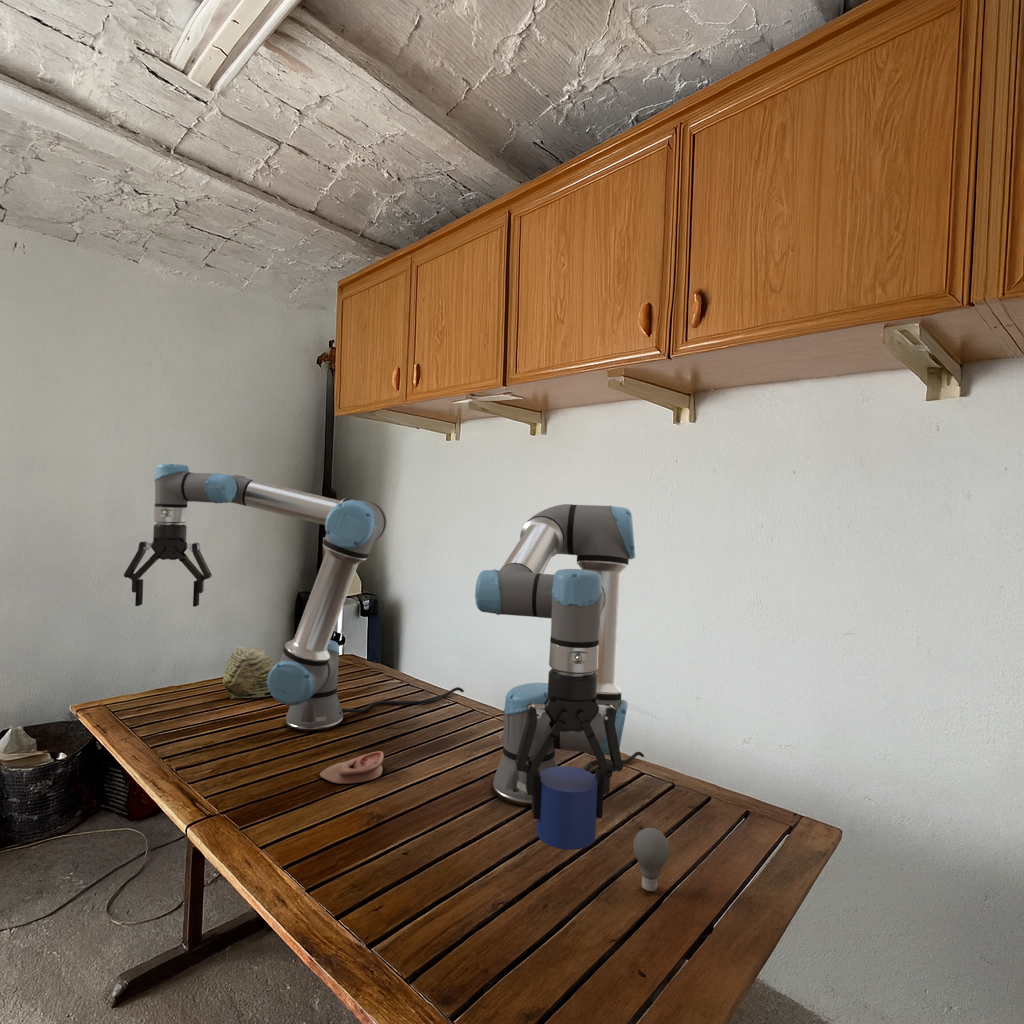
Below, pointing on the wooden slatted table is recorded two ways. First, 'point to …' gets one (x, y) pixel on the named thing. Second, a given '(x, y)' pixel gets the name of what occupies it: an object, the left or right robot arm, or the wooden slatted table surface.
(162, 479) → the left robot arm
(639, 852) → the light bulb
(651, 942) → the wooden slatted table surface
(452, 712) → the wooden slatted table surface
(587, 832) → the cylinder
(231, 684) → the fossil
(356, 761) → the anatomical model
